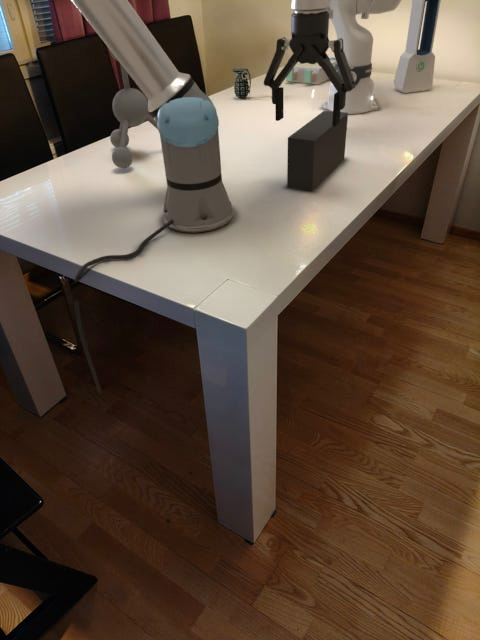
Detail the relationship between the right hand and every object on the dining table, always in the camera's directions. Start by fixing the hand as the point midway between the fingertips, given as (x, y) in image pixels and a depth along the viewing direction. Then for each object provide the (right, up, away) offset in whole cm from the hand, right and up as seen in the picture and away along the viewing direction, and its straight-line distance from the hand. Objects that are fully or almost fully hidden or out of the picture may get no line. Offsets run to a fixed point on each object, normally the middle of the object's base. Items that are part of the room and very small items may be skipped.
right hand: (346, 18), depth 126 cm
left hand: (-13, -33, -16) cm, 39 cm away
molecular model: (-55, -30, +16) cm, 64 cm away
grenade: (-27, +7, +61) cm, 67 cm away
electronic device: (+38, +9, +59) cm, 70 cm away
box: (-8, -40, -1) cm, 41 cm away
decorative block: (+4, +25, +81) cm, 85 cm away
